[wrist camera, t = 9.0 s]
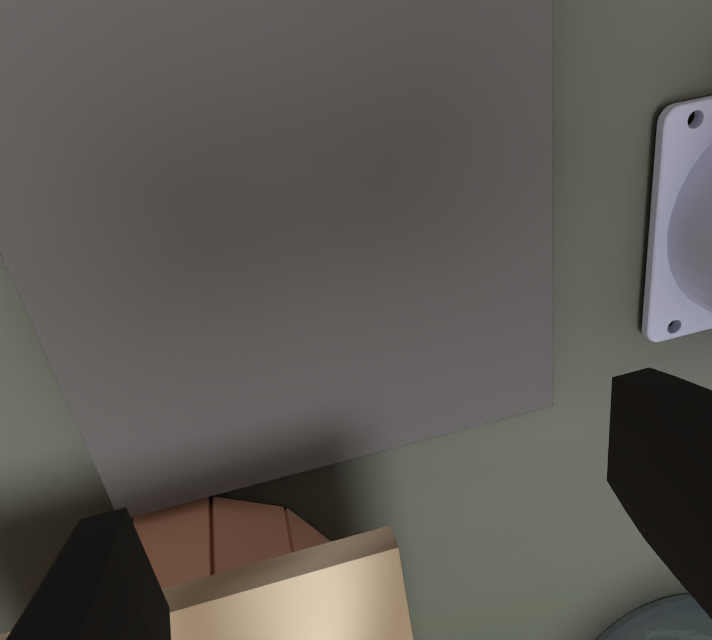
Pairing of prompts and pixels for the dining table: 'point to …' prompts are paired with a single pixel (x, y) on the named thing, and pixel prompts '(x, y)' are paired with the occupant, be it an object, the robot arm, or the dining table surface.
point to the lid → (300, 596)
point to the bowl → (219, 537)
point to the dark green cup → (663, 622)
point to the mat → (278, 226)
